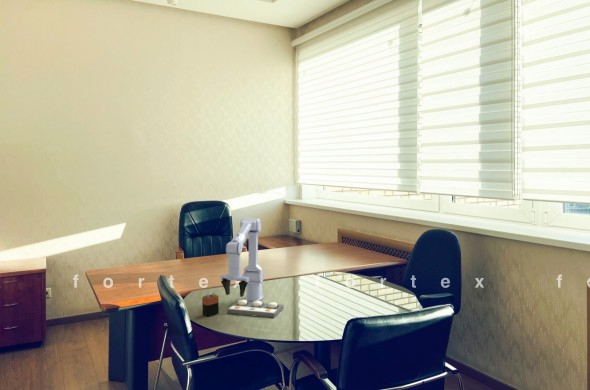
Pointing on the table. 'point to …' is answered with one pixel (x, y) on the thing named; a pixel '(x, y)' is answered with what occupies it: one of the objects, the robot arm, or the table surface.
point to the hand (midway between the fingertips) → (234, 295)
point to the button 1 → (242, 302)
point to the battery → (210, 305)
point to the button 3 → (272, 305)
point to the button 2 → (257, 304)
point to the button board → (255, 310)
